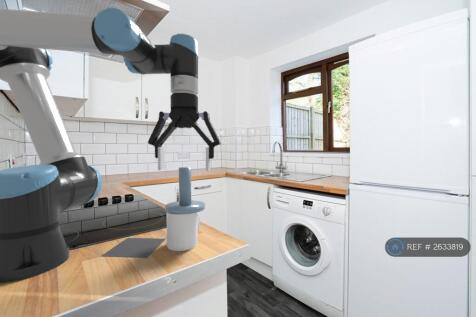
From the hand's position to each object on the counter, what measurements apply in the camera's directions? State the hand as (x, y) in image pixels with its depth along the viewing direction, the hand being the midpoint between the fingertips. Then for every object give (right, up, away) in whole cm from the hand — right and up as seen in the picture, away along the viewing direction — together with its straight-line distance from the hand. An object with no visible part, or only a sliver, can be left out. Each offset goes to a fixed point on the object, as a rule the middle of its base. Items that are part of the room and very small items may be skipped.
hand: (184, 170), depth 65 cm
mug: (+1, -22, +1) cm, 22 cm away
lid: (0, -11, 0) cm, 11 cm away
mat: (-13, -21, -2) cm, 25 cm away
